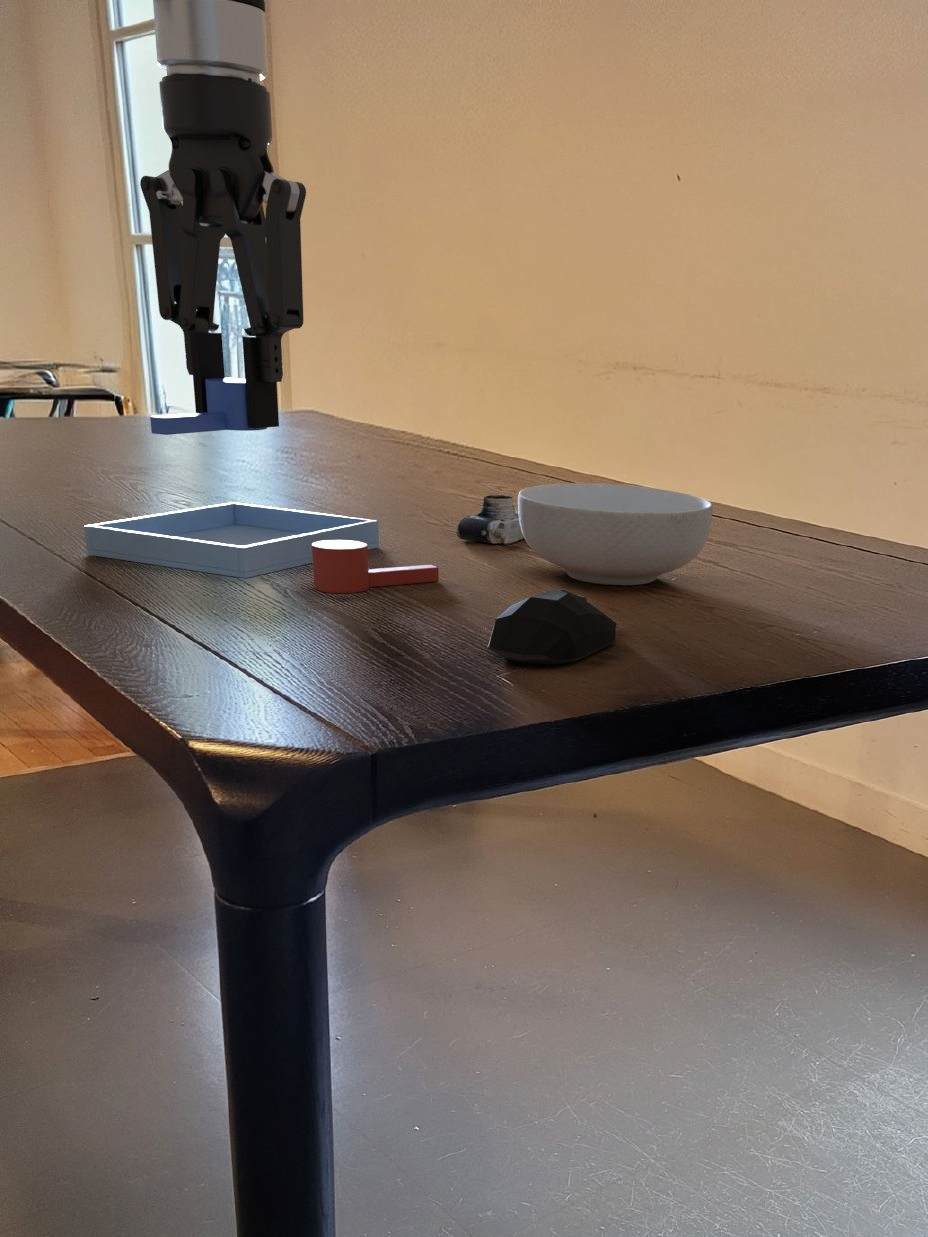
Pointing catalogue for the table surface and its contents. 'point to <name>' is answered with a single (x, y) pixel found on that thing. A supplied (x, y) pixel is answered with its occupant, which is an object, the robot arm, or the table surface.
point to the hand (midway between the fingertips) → (237, 423)
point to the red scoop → (359, 569)
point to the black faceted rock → (551, 629)
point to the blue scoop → (211, 411)
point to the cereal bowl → (613, 530)
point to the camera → (492, 522)
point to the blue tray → (226, 538)
